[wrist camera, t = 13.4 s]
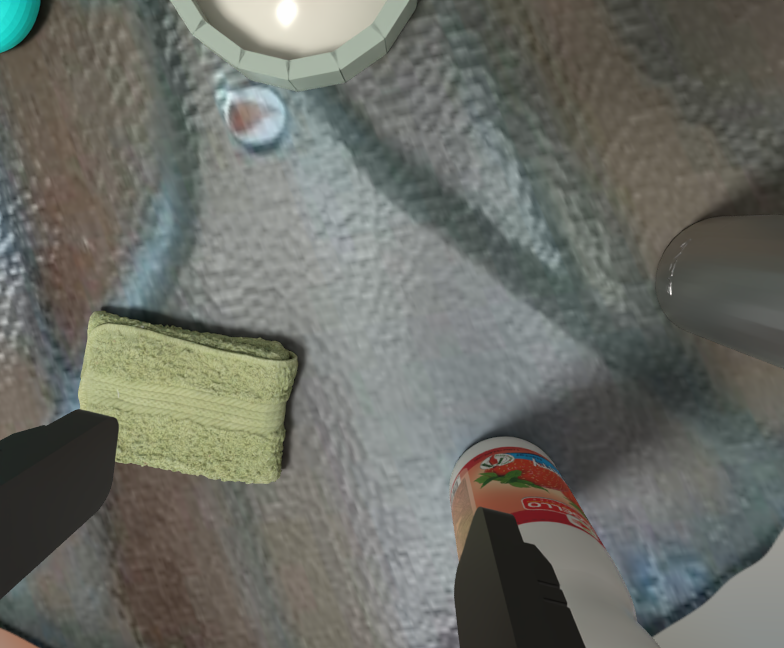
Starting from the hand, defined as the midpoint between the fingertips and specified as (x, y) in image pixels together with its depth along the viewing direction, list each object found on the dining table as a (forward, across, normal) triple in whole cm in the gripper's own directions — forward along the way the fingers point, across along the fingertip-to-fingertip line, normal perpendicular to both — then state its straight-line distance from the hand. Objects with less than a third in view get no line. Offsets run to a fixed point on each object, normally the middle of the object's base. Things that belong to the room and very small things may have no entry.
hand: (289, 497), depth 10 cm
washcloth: (+29, +14, +12) cm, 34 cm away
